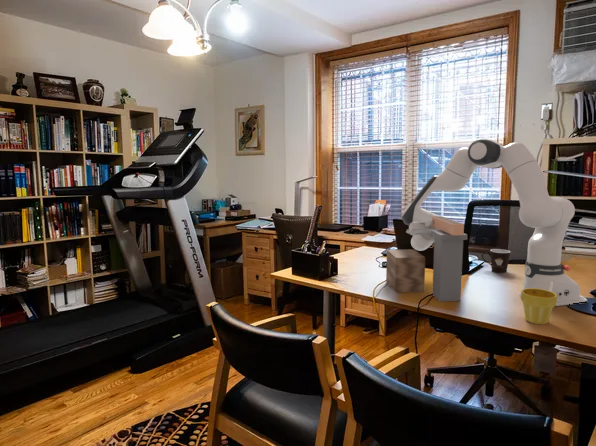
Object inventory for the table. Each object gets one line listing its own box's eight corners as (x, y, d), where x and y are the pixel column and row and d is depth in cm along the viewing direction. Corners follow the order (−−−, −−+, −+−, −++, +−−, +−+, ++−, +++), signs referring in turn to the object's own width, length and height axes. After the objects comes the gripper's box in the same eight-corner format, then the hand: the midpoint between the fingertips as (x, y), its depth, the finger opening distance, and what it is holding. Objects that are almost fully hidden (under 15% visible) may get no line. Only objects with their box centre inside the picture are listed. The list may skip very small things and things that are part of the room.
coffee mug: (512, 271, 199) (514, 251, 198) (502, 274, 194) (504, 253, 193) (489, 266, 209) (490, 247, 207) (479, 269, 204) (480, 249, 202)
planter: (440, 225, 173) (441, 215, 172) (463, 235, 151) (464, 224, 151) (431, 225, 173) (431, 216, 172) (452, 235, 151) (453, 224, 151)
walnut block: (412, 281, 186) (413, 249, 184) (424, 291, 171) (425, 257, 169) (386, 281, 186) (386, 249, 184) (395, 292, 171) (396, 257, 169)
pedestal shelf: (453, 293, 169) (456, 230, 165) (464, 301, 159) (467, 234, 155) (429, 293, 168) (431, 230, 165) (438, 302, 159) (440, 235, 155)
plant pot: (560, 327, 134) (562, 298, 132) (525, 325, 136) (527, 296, 134) (547, 315, 144) (550, 288, 142) (515, 314, 146) (517, 287, 144)
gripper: (404, 226, 183) (413, 214, 170) (450, 225, 184) (462, 213, 171) (405, 240, 181) (415, 228, 168) (452, 239, 181) (465, 227, 169)
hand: (439, 221), depth 169 cm, fingers closed on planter, 4 cm apart
